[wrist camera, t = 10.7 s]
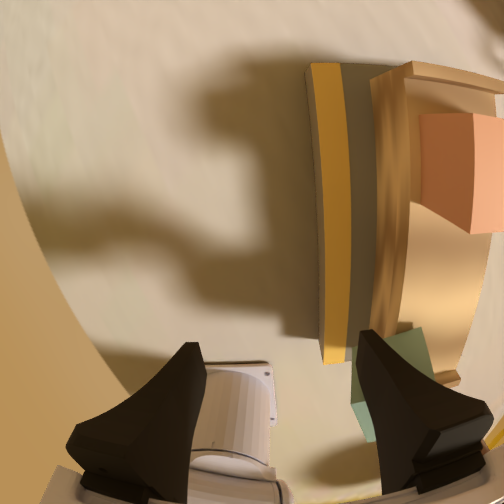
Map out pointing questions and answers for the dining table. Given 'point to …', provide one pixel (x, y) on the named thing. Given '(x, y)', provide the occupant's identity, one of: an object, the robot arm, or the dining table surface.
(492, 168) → the brick block
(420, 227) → the tan piece
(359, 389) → the green cube
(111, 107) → the dining table surface
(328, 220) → the dock
